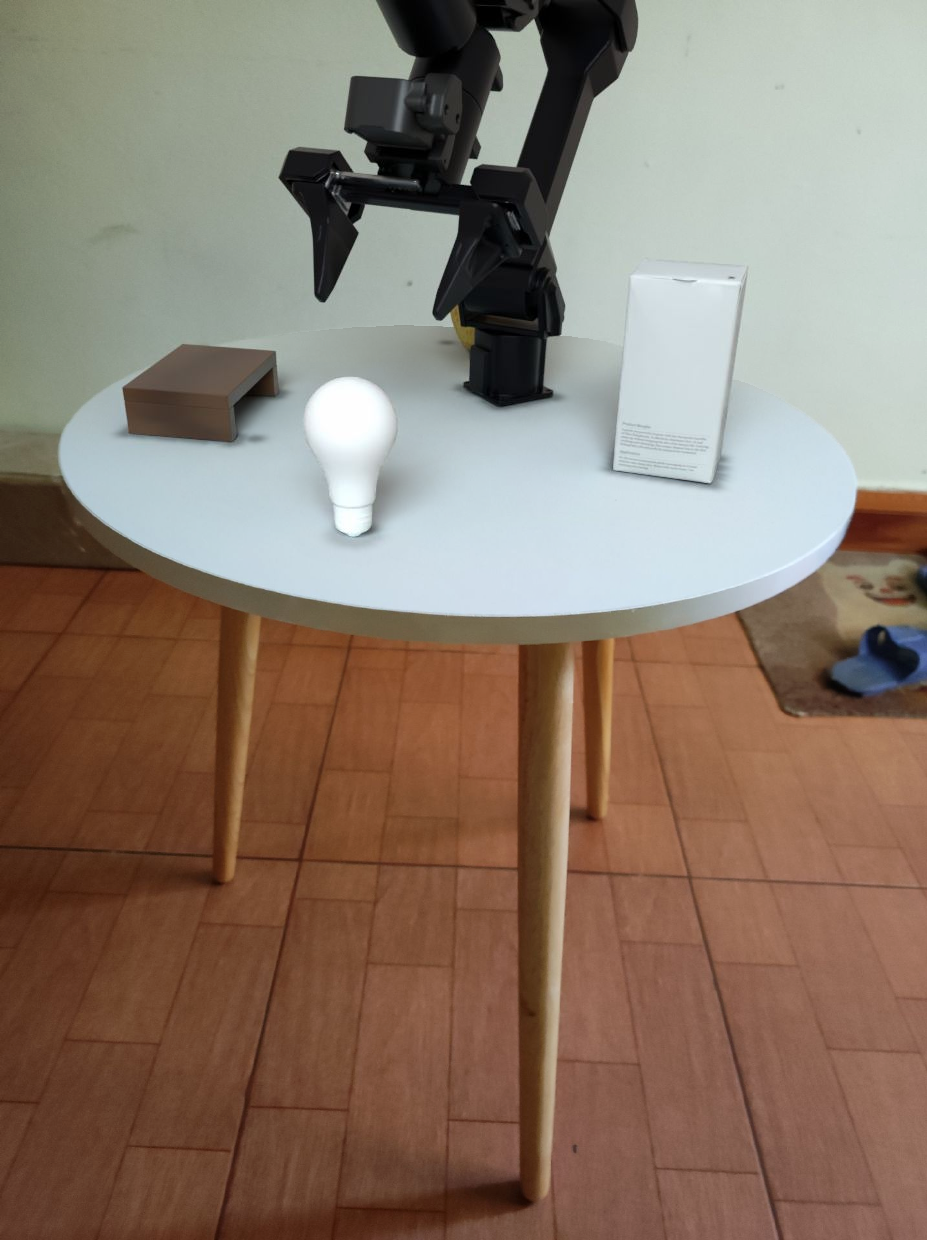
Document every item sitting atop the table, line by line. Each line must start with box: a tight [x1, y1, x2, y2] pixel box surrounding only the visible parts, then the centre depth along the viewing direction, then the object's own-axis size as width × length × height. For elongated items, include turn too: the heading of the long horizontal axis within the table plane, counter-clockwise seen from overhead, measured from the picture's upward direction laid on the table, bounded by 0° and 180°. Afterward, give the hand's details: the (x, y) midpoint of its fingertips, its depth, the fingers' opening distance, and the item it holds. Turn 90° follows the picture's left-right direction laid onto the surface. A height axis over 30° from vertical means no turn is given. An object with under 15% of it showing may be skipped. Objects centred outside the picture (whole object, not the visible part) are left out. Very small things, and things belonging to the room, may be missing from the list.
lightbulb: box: [302, 376, 399, 538], centre depth 66 cm, size 6×6×11 cm
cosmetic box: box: [612, 257, 749, 484], centre depth 77 cm, size 8×7×16 cm
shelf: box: [122, 343, 280, 443], centre depth 88 cm, size 9×13×4 cm
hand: (376, 308), depth 69 cm, fingers open, 9 cm apart
